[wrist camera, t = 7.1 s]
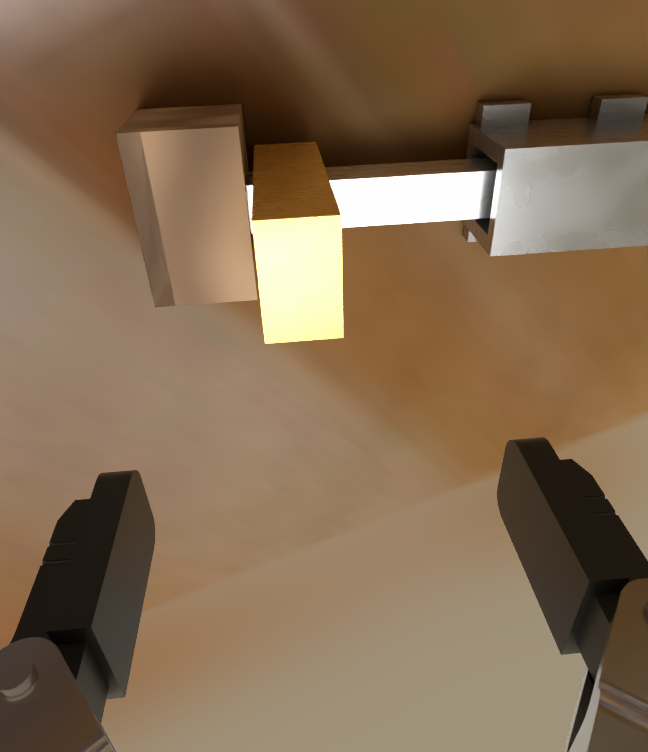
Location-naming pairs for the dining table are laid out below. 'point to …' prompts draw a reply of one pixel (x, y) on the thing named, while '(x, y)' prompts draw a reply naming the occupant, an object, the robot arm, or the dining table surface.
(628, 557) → the robot arm
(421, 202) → the slide bar
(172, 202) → the socket block
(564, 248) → the sleeve
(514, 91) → the dining table surface
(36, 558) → the dining table surface
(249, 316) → the dining table surface
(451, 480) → the dining table surface
